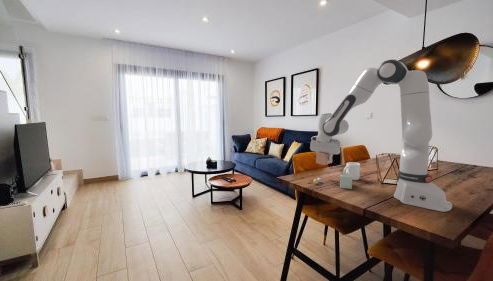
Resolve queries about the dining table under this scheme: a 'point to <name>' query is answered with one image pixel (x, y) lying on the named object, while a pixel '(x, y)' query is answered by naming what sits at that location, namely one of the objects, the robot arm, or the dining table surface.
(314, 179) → the marble amber
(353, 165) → the mug
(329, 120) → the robot arm
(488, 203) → the dining table surface
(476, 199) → the dining table surface
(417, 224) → the dining table surface
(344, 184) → the mint green block
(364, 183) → the dining table surface
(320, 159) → the dusty pink block
